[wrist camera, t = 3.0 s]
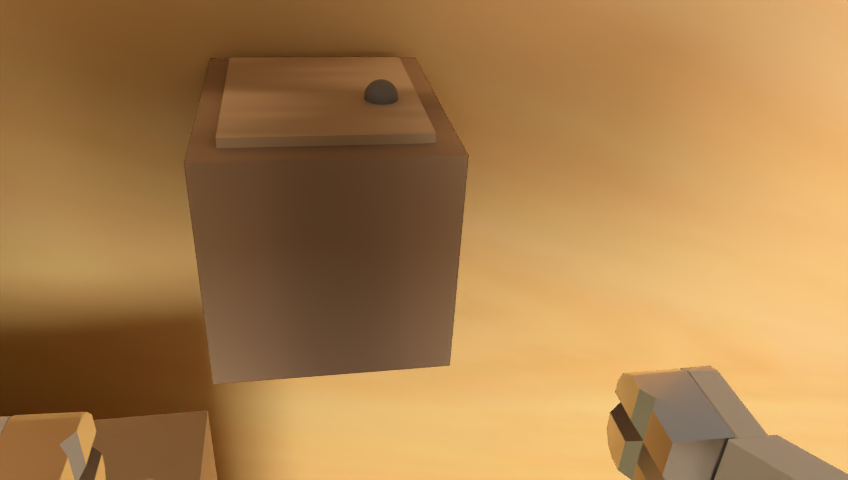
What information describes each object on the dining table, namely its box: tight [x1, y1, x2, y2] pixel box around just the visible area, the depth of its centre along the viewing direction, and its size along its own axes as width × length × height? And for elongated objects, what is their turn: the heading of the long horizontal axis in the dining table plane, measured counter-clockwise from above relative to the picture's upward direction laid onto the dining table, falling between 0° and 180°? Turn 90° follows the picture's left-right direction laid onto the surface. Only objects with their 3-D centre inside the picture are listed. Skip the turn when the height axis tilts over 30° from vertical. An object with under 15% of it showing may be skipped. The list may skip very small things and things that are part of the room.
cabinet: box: [184, 57, 468, 384], centre depth 16 cm, size 5×6×6 cm
